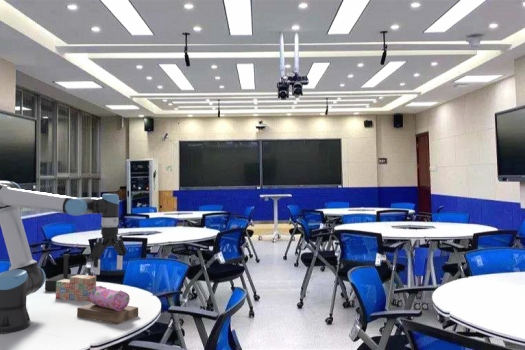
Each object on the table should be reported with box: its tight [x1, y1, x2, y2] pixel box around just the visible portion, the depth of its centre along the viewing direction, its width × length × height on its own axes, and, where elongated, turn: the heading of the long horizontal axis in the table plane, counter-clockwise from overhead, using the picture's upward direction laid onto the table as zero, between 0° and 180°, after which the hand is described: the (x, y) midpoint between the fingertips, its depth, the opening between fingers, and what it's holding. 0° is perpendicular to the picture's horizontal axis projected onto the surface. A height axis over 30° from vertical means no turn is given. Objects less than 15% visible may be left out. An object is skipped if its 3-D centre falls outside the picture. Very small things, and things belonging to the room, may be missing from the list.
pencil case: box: [88, 285, 131, 311], centre depth 184 cm, size 21×9×9 cm, turn 54°
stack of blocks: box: [55, 274, 97, 302], centre depth 214 cm, size 21×6×12 cm, turn 73°
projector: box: [44, 253, 85, 292], centre depth 239 cm, size 19×17×20 cm
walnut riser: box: [76, 302, 139, 325], centre depth 184 cm, size 13×25×4 cm, turn 65°
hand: (108, 271), depth 184 cm, fingers open, 13 cm apart
